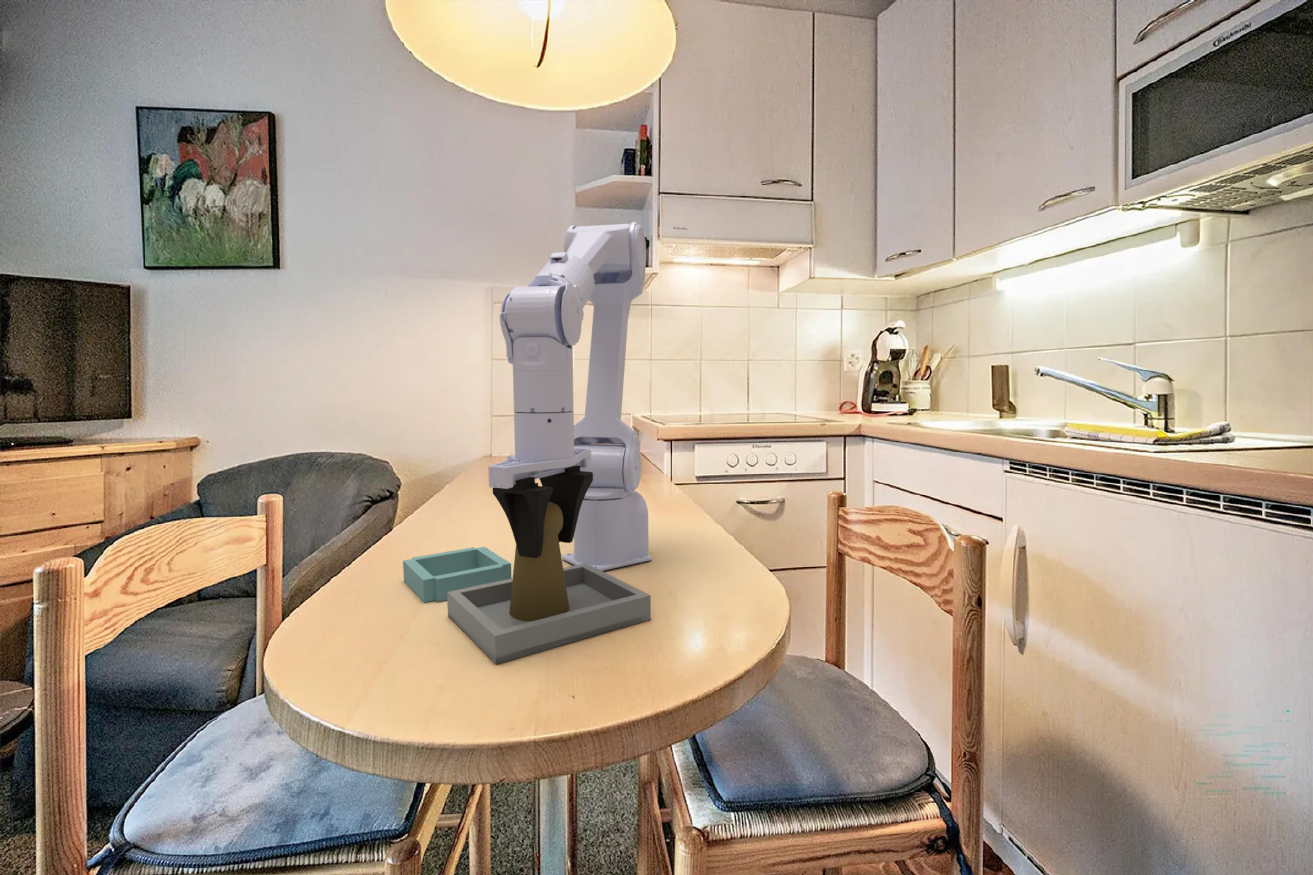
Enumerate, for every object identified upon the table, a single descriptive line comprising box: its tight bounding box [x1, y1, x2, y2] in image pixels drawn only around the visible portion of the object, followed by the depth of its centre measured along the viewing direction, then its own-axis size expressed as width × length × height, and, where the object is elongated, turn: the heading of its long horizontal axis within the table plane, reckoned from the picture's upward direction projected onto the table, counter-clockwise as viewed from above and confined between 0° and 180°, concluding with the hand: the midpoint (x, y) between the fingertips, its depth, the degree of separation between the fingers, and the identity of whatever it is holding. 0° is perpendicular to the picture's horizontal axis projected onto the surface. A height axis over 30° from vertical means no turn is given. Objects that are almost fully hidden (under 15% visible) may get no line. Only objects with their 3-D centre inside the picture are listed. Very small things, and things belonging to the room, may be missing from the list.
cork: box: [509, 502, 570, 622], centre depth 60 cm, size 6×6×11 cm
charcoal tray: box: [446, 563, 652, 665], centre depth 60 cm, size 16×13×2 cm
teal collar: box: [402, 546, 513, 604], centre depth 71 cm, size 10×10×2 cm
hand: (546, 548), depth 60 cm, fingers open, 5 cm apart
